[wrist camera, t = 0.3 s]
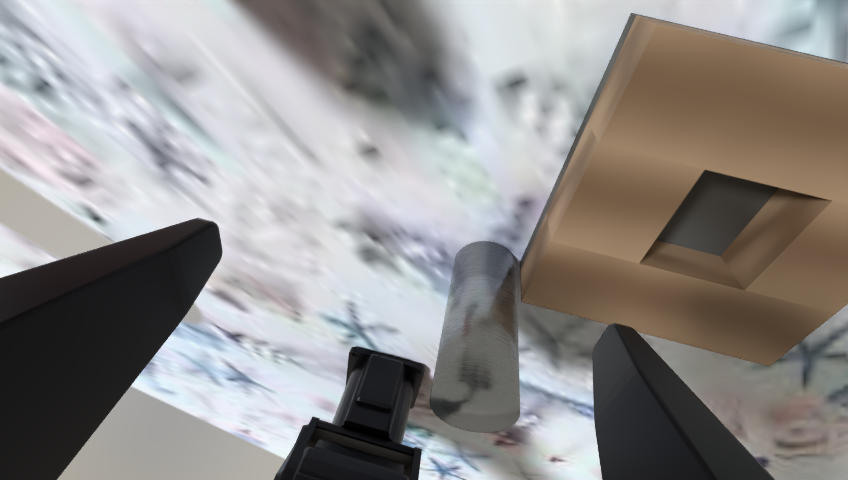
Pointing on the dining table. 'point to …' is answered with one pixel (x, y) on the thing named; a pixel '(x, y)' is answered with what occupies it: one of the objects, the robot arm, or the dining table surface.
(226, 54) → the dining table surface
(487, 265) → the metal pin
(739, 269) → the walnut block
